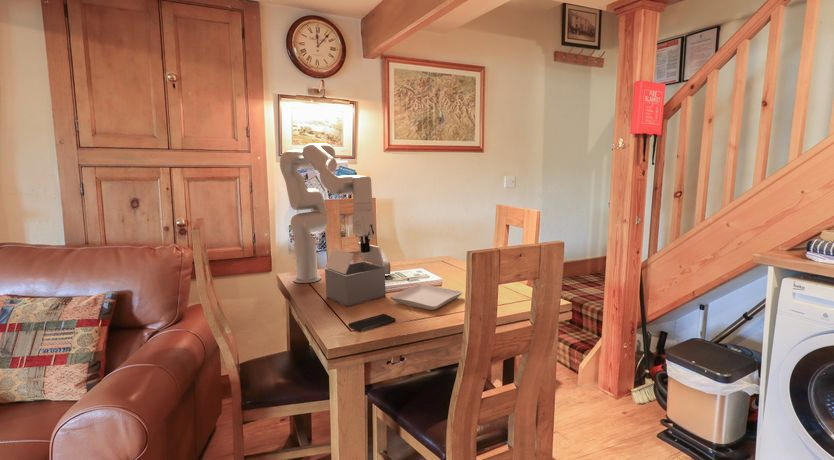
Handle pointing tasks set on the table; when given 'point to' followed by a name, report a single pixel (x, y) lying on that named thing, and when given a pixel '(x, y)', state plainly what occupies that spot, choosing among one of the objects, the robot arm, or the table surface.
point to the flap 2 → (372, 255)
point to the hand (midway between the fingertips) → (365, 251)
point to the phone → (372, 322)
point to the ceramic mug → (387, 267)
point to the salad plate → (425, 296)
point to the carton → (356, 284)
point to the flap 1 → (339, 261)
